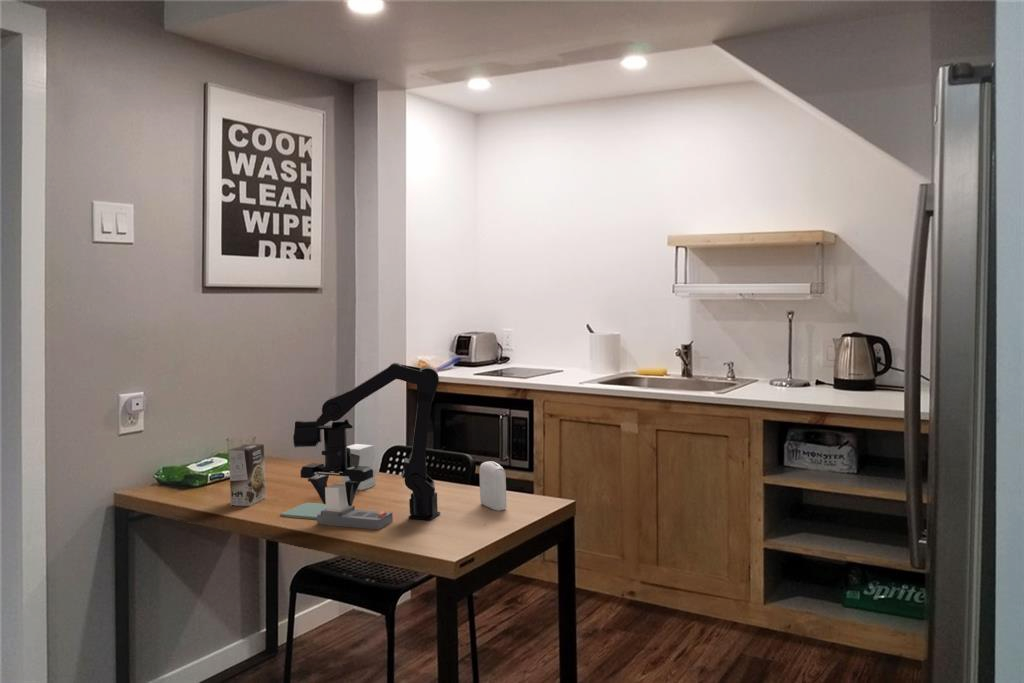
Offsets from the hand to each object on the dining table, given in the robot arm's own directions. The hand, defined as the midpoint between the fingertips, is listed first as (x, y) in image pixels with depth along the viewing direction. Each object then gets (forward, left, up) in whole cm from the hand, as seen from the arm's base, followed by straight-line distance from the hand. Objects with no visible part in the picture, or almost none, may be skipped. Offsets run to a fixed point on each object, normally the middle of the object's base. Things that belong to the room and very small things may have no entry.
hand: (337, 504), depth 209 cm
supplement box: (+14, -34, -5) cm, 37 cm away
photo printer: (-34, -24, -5) cm, 42 cm away
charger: (0, 0, -2) cm, 2 cm away
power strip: (-5, 0, -4) cm, 7 cm away
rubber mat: (+12, -6, -4) cm, 14 cm away
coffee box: (+36, -10, -5) cm, 38 cm away
